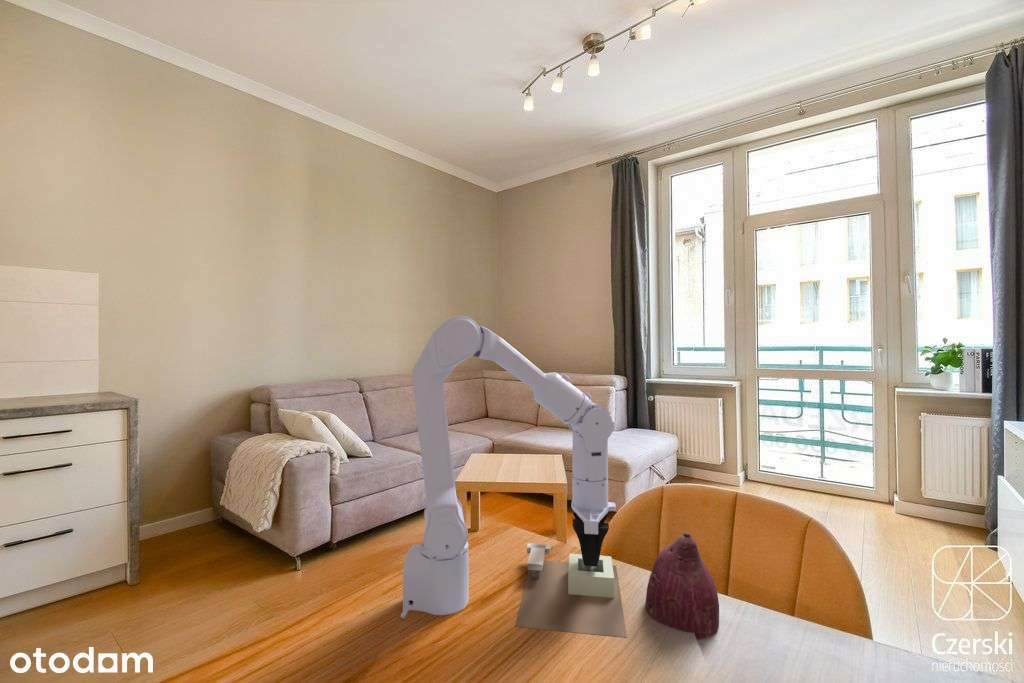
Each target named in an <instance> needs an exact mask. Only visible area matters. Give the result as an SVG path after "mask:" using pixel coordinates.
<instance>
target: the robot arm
mask: <svg viewBox="0 0 1024 683" xmlns="http://www.w3.org/2000/svg"><path fill="white" fill-rule="evenodd" d="M472 356H473V358H476V359H481V360H486V361H492V362H494V363H495V364H497V365H498V366H500V367H501V368H503V369H504V370H505V371H507V372H508V373H509V374H511V375H512V376H514V377H515V378H517V380H520V381H521V382H522V383H523V384H525V385H527V386H528V387H530V388H531V389H532V394H533V400H534V402H535V403H537V404H538V405H540V406H541V407H542V408H544V409H545V410H546V411H548V412H549V413H551V415H553V416H554V417H556V418H557V419H558V420H560V421H561V422H562V423H563V424H566V425H567V427H568V428H569V429H570V431H572V447H571V449H572V451H571V453H572V459H571V460H572V462H571V464H572V466H571V467H572V470H571V471H572V481H571V482H572V491H571V492H572V500H571V503H570V504H571V509H572V511H573V513H572V515H573V516H574V518H572V528H573V531H574V532H575V534H576V536H577V539H578V541H579V542H578V543H579V547H580V554H582V558H583V563H584V565H585V566H596V567H597V566H598V562H599V558H600V556H601V551H602V546H603V543H604V539H605V538H606V535H607V534H608V533H609V529H610V525H609V522H606V520H607V518H608V513H609V512H614V511H616V508H617V506H616V503H615V502H611V501H609V438H610V436H612V433H613V432H614V429H615V422H614V421H613V419H612V415H611V413H610V411H609V410H608V409H607V407H605V406H603V405H600V404H598V403H594V402H593V401H592V398H593V396H592V395H591V394H590V393H589V392H585V393H584V392H582V391H581V390H580V389H579V388H577V387H576V386H575V385H574V384H573V383H571V382H570V380H571V378H570V377H569V376H568V375H567V374H566V373H561V374H560V373H558V372H555V371H554V372H546V373H545V372H543V371H542V370H541V369H540V368H539V367H537V365H535V364H533V363H532V362H531V361H530V360H529V359H527V358H526V357H525V356H524V355H522V353H520V352H519V351H518V350H517V349H516V348H515V347H513V346H512V345H511V344H509V342H507V341H506V340H504V339H503V337H501V336H500V335H497V334H496V333H494V332H493V331H492V330H490V329H489V328H486V327H484V326H483V325H480V326H479V325H478V323H477V322H476V321H475V320H474V319H472V318H470V317H468V316H465V315H455V316H451V317H450V318H447V319H446V320H445V321H443V323H442V324H440V325H439V326H438V328H436V329H435V330H434V331H433V332H432V333H431V335H430V336H429V339H428V341H427V342H426V344H425V346H424V348H423V350H422V351H421V353H420V354H419V357H418V359H417V361H416V362H415V364H414V366H413V368H412V370H411V382H412V391H413V398H414V406H415V407H414V408H415V414H416V422H417V430H418V432H417V434H418V440H419V449H420V455H421V464H422V471H423V472H422V473H423V481H424V482H423V483H424V490H425V502H426V506H425V508H424V511H423V520H424V530H423V531H424V532H423V536H422V538H423V541H422V542H421V543H420V544H413V545H410V547H409V549H408V550H407V552H406V554H405V557H404V562H403V569H402V612H401V614H400V618H401V619H405V617H406V615H407V614H408V612H409V611H418V612H424V613H427V614H431V615H435V616H447V615H448V616H449V615H452V614H455V613H458V612H460V611H462V610H463V609H464V608H465V607H467V605H468V604H469V601H470V599H469V597H470V596H469V592H470V591H469V586H470V585H469V581H470V580H469V579H470V578H469V571H470V570H469V569H470V568H469V541H468V539H469V538H468V537H469V532H468V527H467V524H466V523H465V518H464V509H463V508H464V507H463V505H462V503H461V501H460V500H459V499H458V497H457V489H456V483H455V476H454V467H453V466H454V465H453V457H452V450H451V443H450V432H449V426H448V425H449V424H448V415H447V409H446V399H445V392H444V381H445V380H446V379H447V378H448V377H449V375H450V374H451V373H452V372H453V371H454V370H455V368H456V366H458V365H460V364H461V363H462V362H465V361H466V360H468V359H469V358H471V357H472Z"/></svg>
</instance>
